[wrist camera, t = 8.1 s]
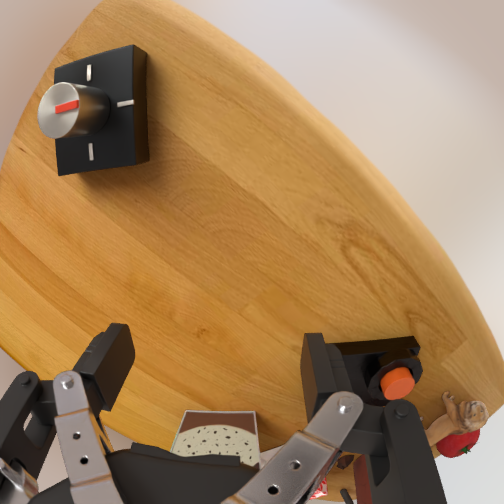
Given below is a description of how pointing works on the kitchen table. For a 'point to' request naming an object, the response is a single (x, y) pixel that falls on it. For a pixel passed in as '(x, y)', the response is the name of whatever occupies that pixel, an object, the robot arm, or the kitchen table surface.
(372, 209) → the kitchen table surface
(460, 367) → the kitchen table surface
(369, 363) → the black button box
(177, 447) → the food container
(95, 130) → the dial
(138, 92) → the dial panel
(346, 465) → the potted plant
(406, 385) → the button
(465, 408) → the lion figurine
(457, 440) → the tomato
